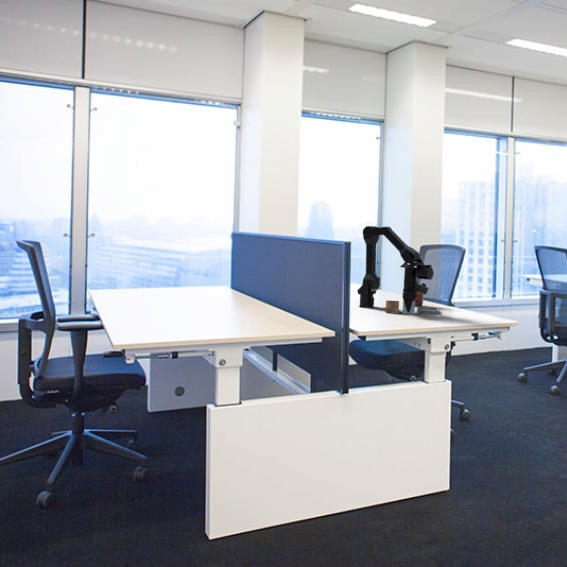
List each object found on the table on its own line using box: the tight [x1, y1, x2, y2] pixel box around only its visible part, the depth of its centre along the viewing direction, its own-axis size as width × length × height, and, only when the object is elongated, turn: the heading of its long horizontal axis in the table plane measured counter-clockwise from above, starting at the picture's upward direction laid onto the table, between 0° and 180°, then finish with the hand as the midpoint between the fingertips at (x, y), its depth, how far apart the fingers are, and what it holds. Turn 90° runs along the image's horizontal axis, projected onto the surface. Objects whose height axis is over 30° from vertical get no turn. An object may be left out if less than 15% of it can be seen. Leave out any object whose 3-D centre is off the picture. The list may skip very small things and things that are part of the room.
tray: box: [416, 306, 440, 315], centre depth 283 cm, size 10×10×2 cm
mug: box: [414, 291, 424, 308], centre depth 300 cm, size 12×9×10 cm
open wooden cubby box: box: [385, 299, 400, 314], centre depth 279 cm, size 6×6×5 cm
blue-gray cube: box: [401, 300, 416, 315], centre depth 277 cm, size 6×6×6 cm
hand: (408, 310), depth 277 cm, fingers closed on blue-gray cube, 6 cm apart
